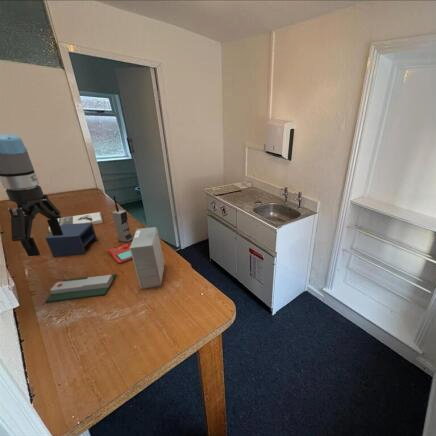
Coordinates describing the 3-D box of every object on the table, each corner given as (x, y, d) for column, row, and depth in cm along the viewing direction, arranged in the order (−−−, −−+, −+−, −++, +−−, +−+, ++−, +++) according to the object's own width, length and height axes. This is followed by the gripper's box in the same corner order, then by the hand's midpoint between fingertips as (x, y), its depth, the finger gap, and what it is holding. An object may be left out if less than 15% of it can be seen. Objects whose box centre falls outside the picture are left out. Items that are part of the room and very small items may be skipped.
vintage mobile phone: (127, 242, 122) (116, 197, 111) (119, 241, 122) (107, 196, 112) (133, 239, 125) (122, 195, 115) (125, 237, 126) (113, 194, 115)
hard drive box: (145, 267, 105) (137, 228, 97) (164, 264, 108) (157, 226, 99) (140, 290, 92) (129, 247, 84) (161, 286, 95) (153, 244, 86)
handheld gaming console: (128, 242, 120) (140, 254, 111) (128, 244, 120) (141, 256, 112) (107, 249, 113) (118, 262, 105) (107, 251, 113) (119, 264, 105)
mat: (45, 303, 83) (45, 301, 83) (64, 281, 93) (63, 279, 93) (105, 295, 88) (104, 293, 88) (116, 275, 99) (116, 273, 98)
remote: (51, 294, 86) (48, 289, 85) (58, 285, 90) (56, 280, 89) (108, 287, 91) (106, 282, 90) (113, 279, 95) (111, 274, 94)
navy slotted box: (53, 256, 107) (45, 238, 103) (69, 241, 119) (62, 224, 115) (84, 254, 110) (78, 235, 106) (97, 239, 122) (92, 222, 118)
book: (49, 232, 125) (48, 229, 124) (51, 222, 135) (50, 219, 134) (103, 222, 139) (102, 219, 138) (101, 214, 148) (100, 211, 148)
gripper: (8, 200, 63) (37, 264, 72) (60, 176, 85) (77, 227, 94) (-29, 201, 61) (6, 267, 70) (34, 176, 82) (54, 228, 91)
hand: (47, 244), depth 82 cm, fingers open, 13 cm apart
